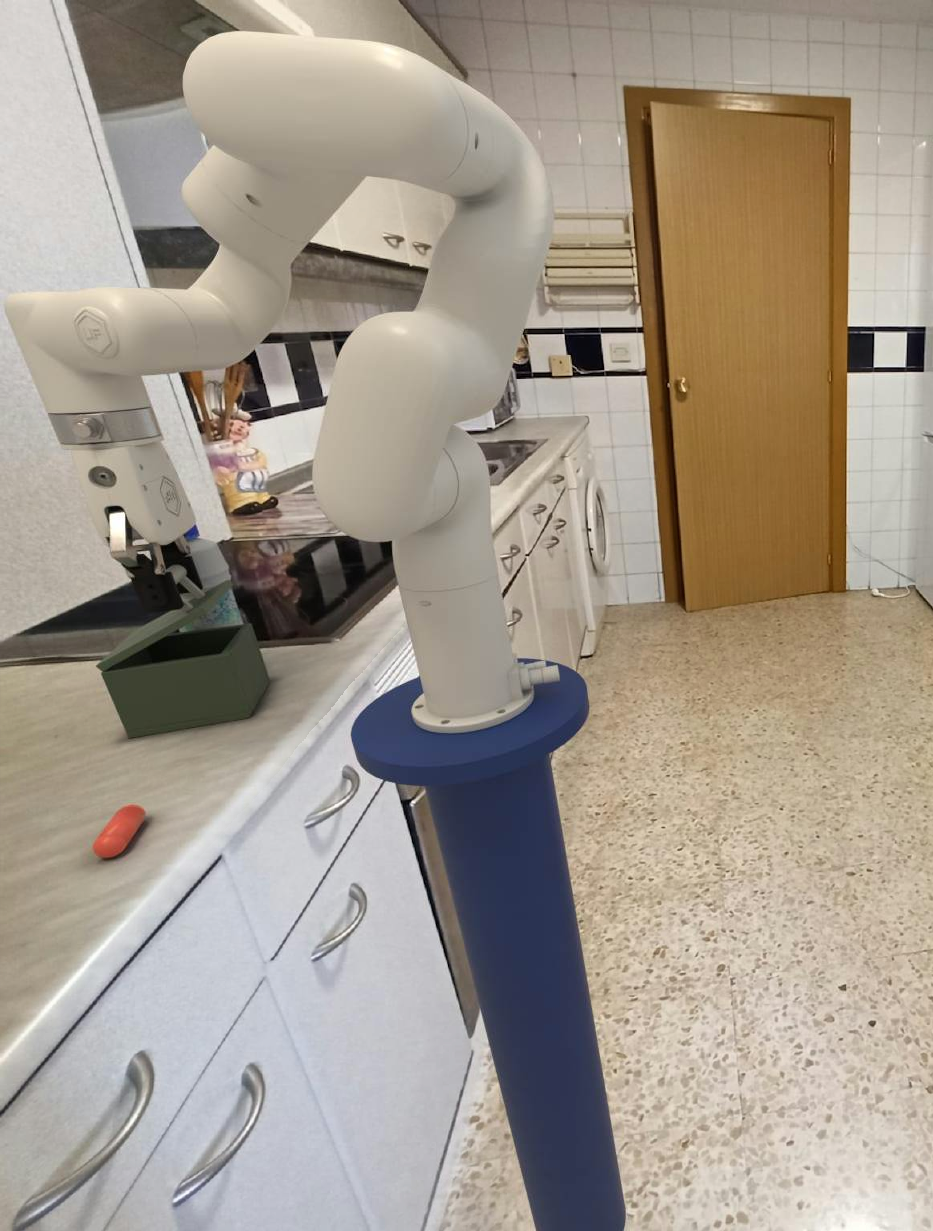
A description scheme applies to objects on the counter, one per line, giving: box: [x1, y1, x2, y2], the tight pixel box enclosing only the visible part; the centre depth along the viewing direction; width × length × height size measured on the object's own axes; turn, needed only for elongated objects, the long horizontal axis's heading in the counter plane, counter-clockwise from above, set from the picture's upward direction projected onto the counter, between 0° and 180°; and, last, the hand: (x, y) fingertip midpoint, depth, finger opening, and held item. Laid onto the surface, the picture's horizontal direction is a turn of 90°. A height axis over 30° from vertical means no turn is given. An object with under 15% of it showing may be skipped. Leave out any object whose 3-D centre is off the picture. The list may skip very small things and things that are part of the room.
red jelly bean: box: [92, 804, 146, 859], centre depth 61 cm, size 6×2×2 cm, turn 24°
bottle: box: [178, 523, 244, 632], centre depth 85 cm, size 7×7×20 cm
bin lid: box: [95, 565, 235, 672], centre depth 76 cm, size 11×10×5 cm
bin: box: [100, 622, 271, 739], centre depth 80 cm, size 11×10×8 cm
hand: (175, 599), depth 77 cm, fingers closed on bin lid, 5 cm apart
